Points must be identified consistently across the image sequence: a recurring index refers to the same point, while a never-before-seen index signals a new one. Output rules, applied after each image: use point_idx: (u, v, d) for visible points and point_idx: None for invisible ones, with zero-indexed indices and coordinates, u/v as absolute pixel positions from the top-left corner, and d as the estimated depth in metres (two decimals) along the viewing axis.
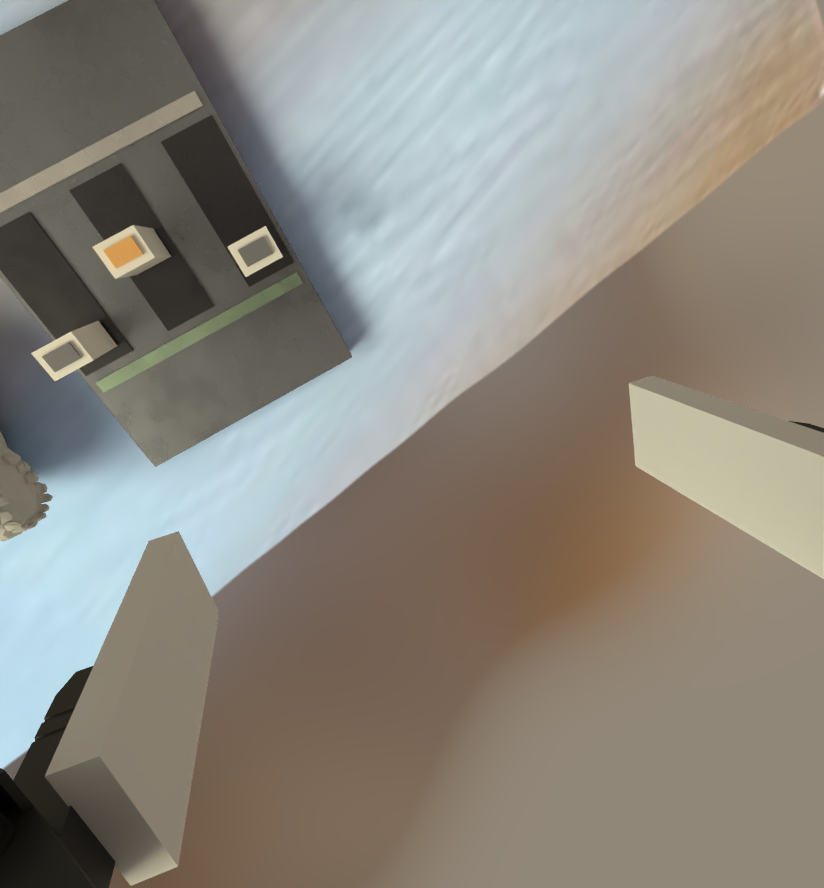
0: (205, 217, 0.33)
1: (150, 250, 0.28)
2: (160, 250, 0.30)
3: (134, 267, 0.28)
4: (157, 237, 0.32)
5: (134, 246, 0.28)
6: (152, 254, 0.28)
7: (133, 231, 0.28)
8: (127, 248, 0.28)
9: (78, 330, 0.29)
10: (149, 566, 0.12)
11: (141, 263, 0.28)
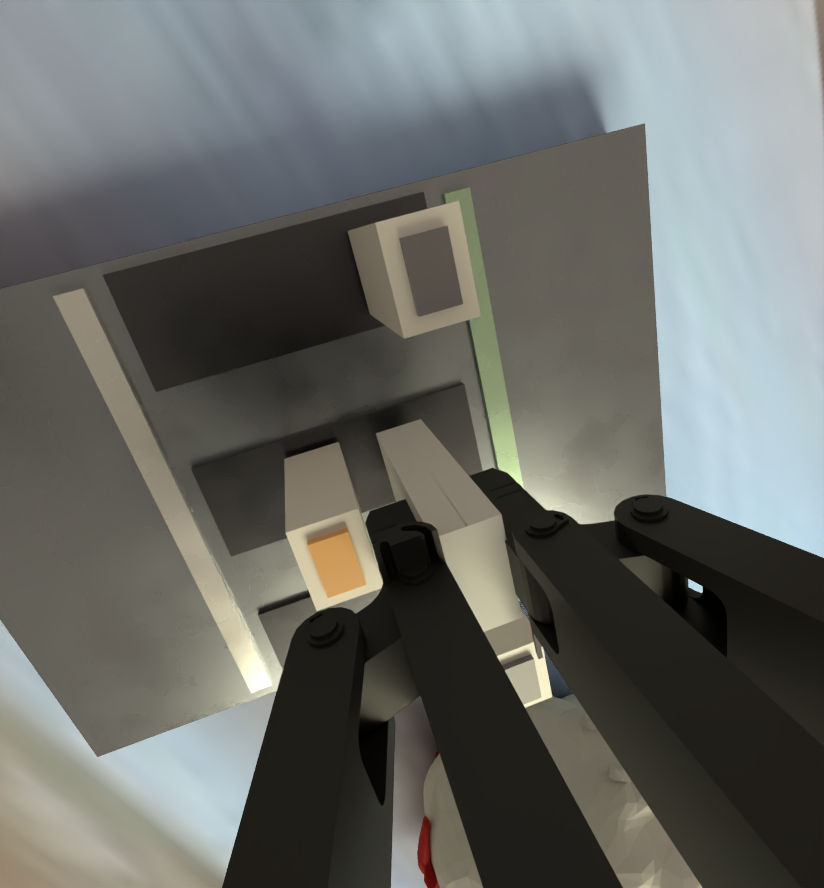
0: (303, 350, 0.16)
1: (342, 512, 0.13)
2: (332, 470, 0.15)
3: (370, 549, 0.13)
4: (302, 458, 0.16)
5: (330, 543, 0.13)
6: (351, 511, 0.13)
7: (298, 534, 0.12)
8: (331, 556, 0.13)
9: None
10: (394, 445, 0.15)
11: (365, 535, 0.13)
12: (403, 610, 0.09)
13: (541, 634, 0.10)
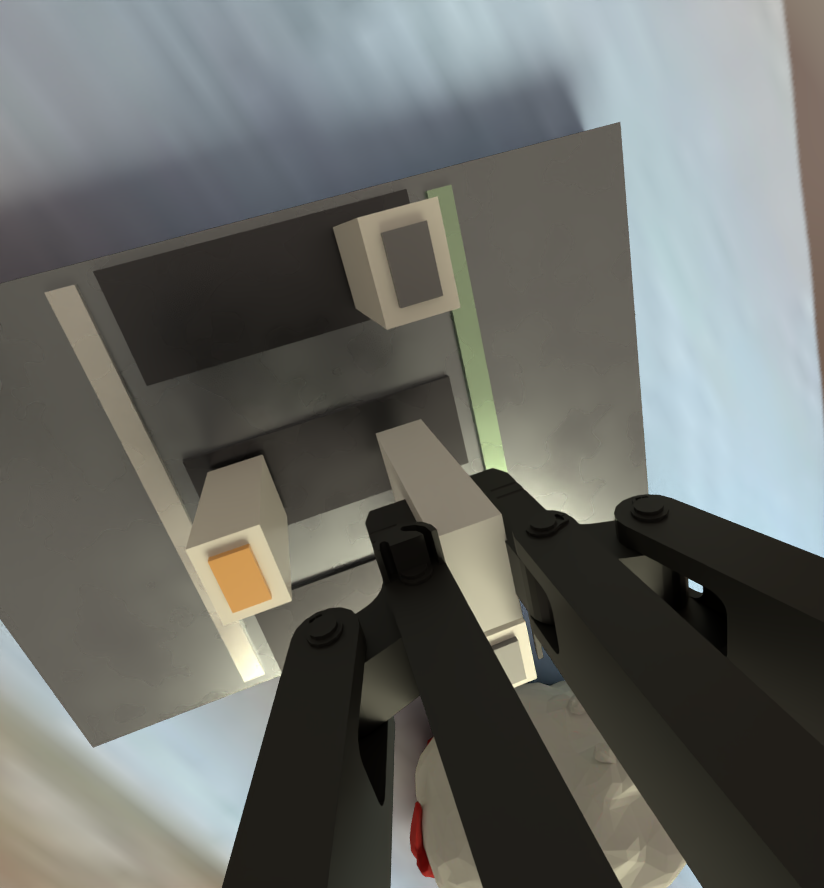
0: (291, 344, 0.17)
1: (243, 528, 0.13)
2: (248, 484, 0.15)
3: (274, 564, 0.13)
4: (224, 471, 0.17)
5: (231, 559, 0.13)
6: (252, 527, 0.13)
7: (199, 551, 0.13)
8: (233, 572, 0.13)
9: None
10: (394, 445, 0.15)
11: (268, 550, 0.13)
12: (403, 610, 0.09)
13: (541, 634, 0.10)
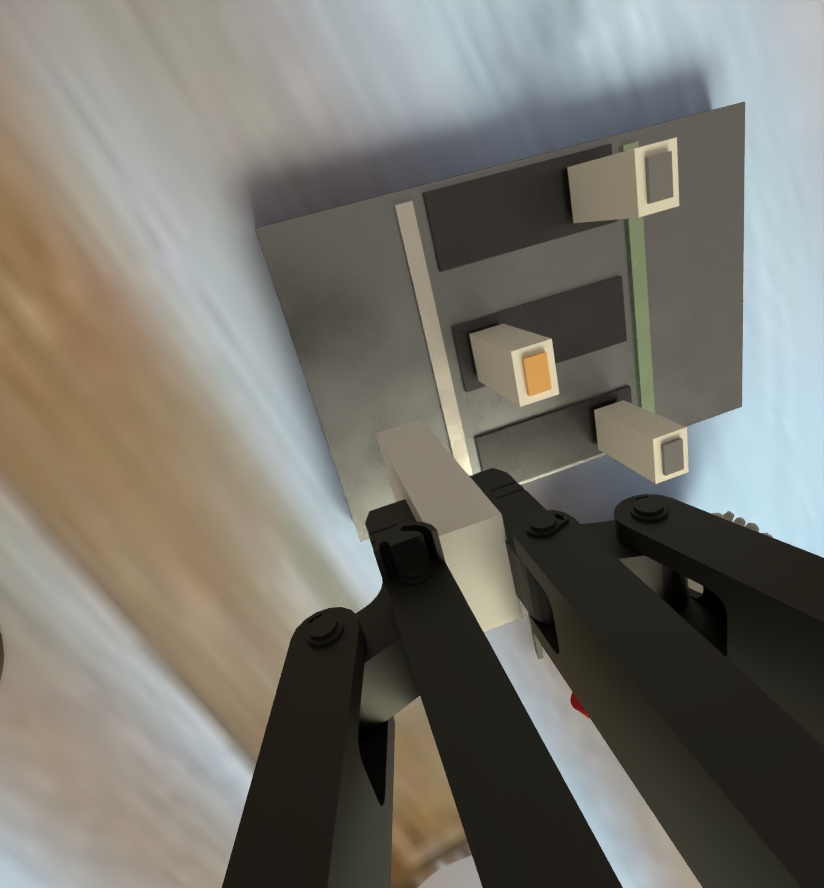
0: (526, 248, 0.25)
1: (541, 341, 0.21)
2: (514, 332, 0.23)
3: (554, 367, 0.22)
4: (483, 331, 0.25)
5: (536, 359, 0.21)
6: (547, 340, 0.21)
7: (517, 353, 0.21)
8: (535, 367, 0.21)
9: (640, 431, 0.25)
10: (394, 445, 0.15)
11: (552, 357, 0.21)
12: (403, 610, 0.09)
13: (541, 634, 0.10)
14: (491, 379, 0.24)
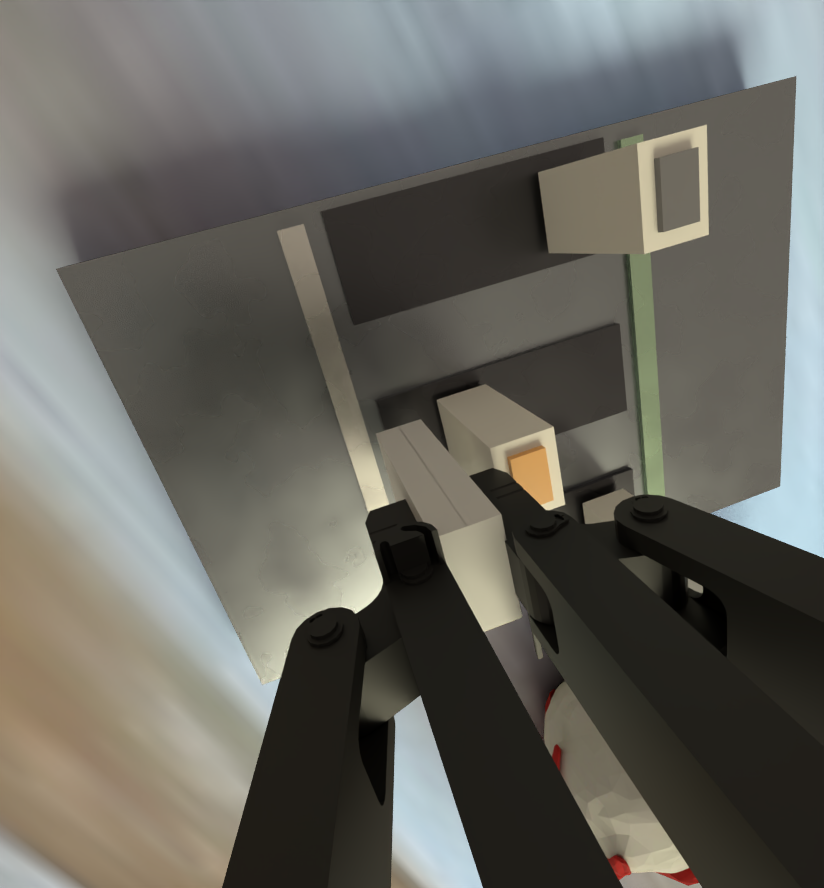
0: (482, 288, 0.17)
1: (537, 430, 0.14)
2: (499, 403, 0.16)
3: (557, 467, 0.14)
4: (456, 397, 0.17)
5: (529, 459, 0.14)
6: (546, 429, 0.14)
7: (500, 451, 0.14)
8: (528, 471, 0.14)
9: None
10: (394, 445, 0.15)
11: (555, 453, 0.14)
12: (403, 610, 0.09)
13: (541, 634, 0.10)
14: (466, 469, 0.17)
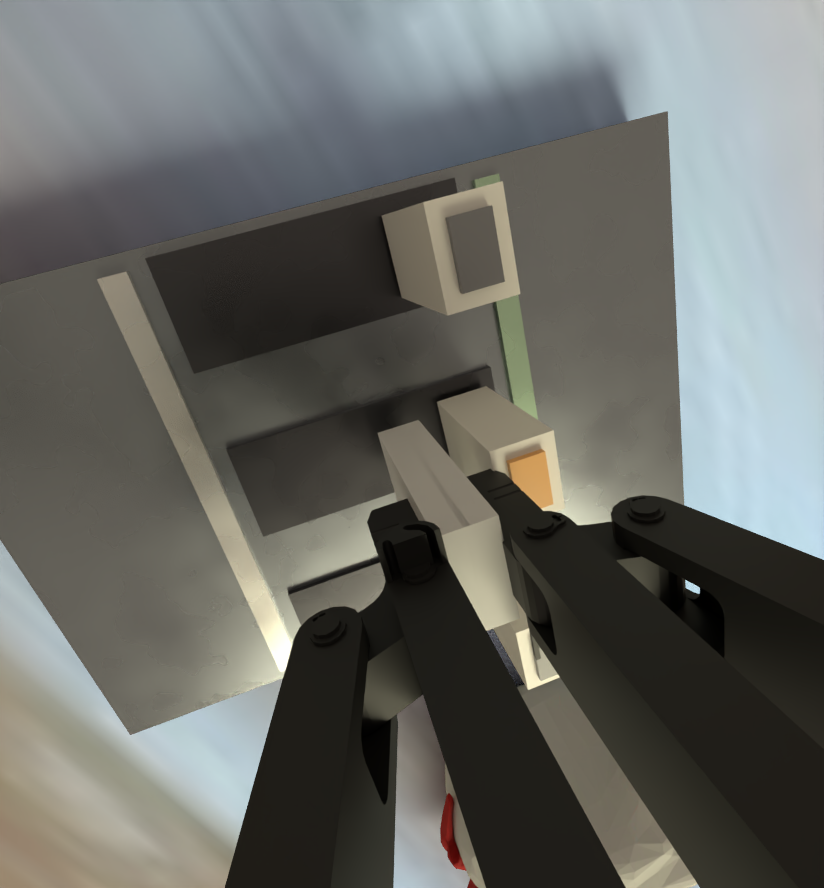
0: (335, 333, 0.17)
1: (537, 434, 0.14)
2: (499, 406, 0.16)
3: (557, 471, 0.14)
4: (457, 400, 0.17)
5: (529, 462, 0.13)
6: (546, 433, 0.14)
7: (499, 454, 0.13)
8: (528, 475, 0.14)
9: None
10: (396, 444, 0.15)
11: (555, 457, 0.14)
12: (405, 609, 0.09)
13: (539, 635, 0.10)
14: (466, 472, 0.17)
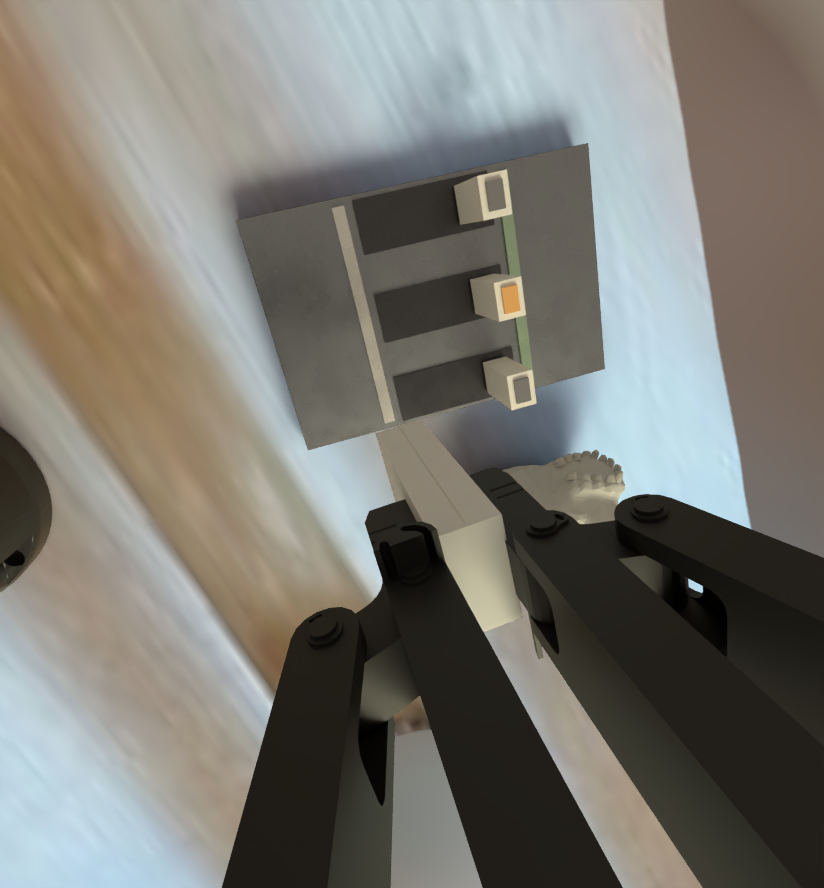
0: (428, 241, 0.36)
1: (514, 277, 0.32)
2: (499, 276, 0.35)
3: (522, 296, 0.33)
4: (479, 277, 0.36)
5: (510, 288, 0.32)
6: (518, 277, 0.32)
7: (497, 285, 0.32)
8: (509, 294, 0.32)
9: (502, 372, 0.35)
10: (394, 445, 0.15)
11: (521, 289, 0.33)
12: (403, 610, 0.09)
13: (541, 634, 0.10)
14: (483, 308, 0.35)
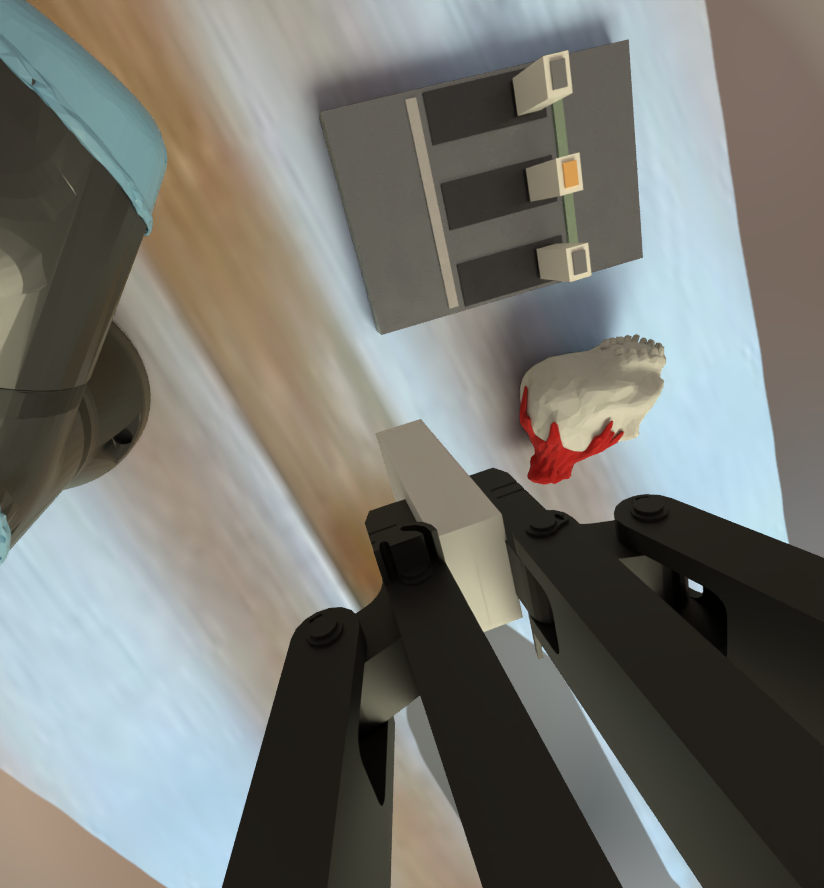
0: (488, 132, 0.40)
1: (573, 154, 0.36)
2: None
3: (580, 171, 0.37)
4: None
5: (570, 163, 0.36)
6: (576, 153, 0.36)
7: (559, 160, 0.36)
8: (569, 169, 0.36)
9: (560, 248, 0.39)
10: (394, 445, 0.15)
11: (579, 165, 0.37)
12: (403, 610, 0.09)
13: (541, 634, 0.10)
14: (540, 192, 0.39)
